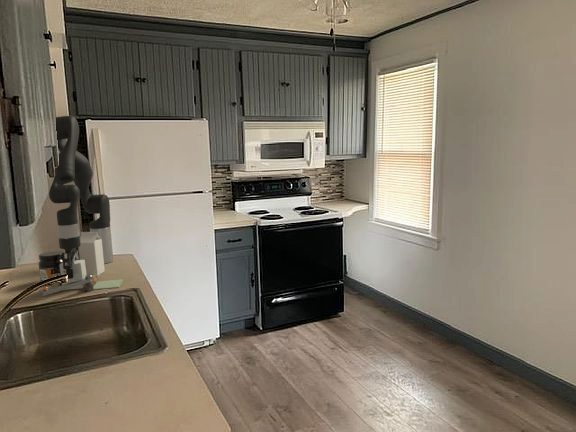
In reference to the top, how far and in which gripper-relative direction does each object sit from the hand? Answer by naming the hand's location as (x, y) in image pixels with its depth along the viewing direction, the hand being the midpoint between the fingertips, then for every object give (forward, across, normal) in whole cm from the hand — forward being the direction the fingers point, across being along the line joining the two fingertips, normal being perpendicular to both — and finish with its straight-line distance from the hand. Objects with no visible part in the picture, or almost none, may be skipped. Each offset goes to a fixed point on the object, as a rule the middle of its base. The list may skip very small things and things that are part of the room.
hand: (73, 275), depth 171 cm
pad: (+5, +1, +13) cm, 14 cm away
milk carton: (+5, -18, +3) cm, 19 cm away
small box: (+5, 0, 0) cm, 5 cm away
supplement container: (+5, -12, -11) cm, 17 cm away
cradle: (+5, 0, 0) cm, 5 cm away
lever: (+1, +12, +1) cm, 12 cm away
